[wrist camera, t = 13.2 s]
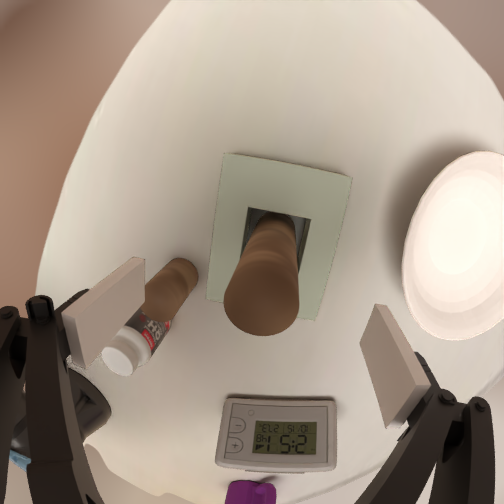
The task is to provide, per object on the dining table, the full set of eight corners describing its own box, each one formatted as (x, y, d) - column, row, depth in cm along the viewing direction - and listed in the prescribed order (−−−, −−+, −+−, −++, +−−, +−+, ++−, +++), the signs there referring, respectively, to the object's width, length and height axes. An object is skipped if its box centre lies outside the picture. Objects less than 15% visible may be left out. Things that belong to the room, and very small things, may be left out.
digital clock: (341, 397, 35) (348, 456, 25) (321, 431, 39) (323, 484, 29) (228, 379, 37) (211, 440, 27) (222, 416, 40) (208, 469, 30)
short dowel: (165, 286, 33) (138, 316, 26) (166, 254, 31) (137, 280, 25) (196, 293, 32) (175, 326, 26) (199, 262, 31) (177, 290, 25)
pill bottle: (179, 316, 34) (146, 366, 25) (160, 340, 36) (129, 388, 26) (144, 289, 33) (102, 332, 24) (129, 315, 35) (90, 358, 26)
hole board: (215, 282, 32) (205, 299, 28) (233, 153, 27) (223, 153, 23) (312, 301, 31) (314, 321, 27) (343, 174, 26) (352, 177, 22)
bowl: (525, 192, 23) (556, 202, 17) (470, 325, 29) (491, 351, 23) (415, 118, 23) (444, 111, 17) (354, 289, 30) (366, 320, 24)
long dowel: (252, 245, 30) (219, 327, 16) (258, 207, 28) (228, 262, 14) (290, 252, 29) (289, 341, 15) (298, 215, 28) (307, 278, 14)
